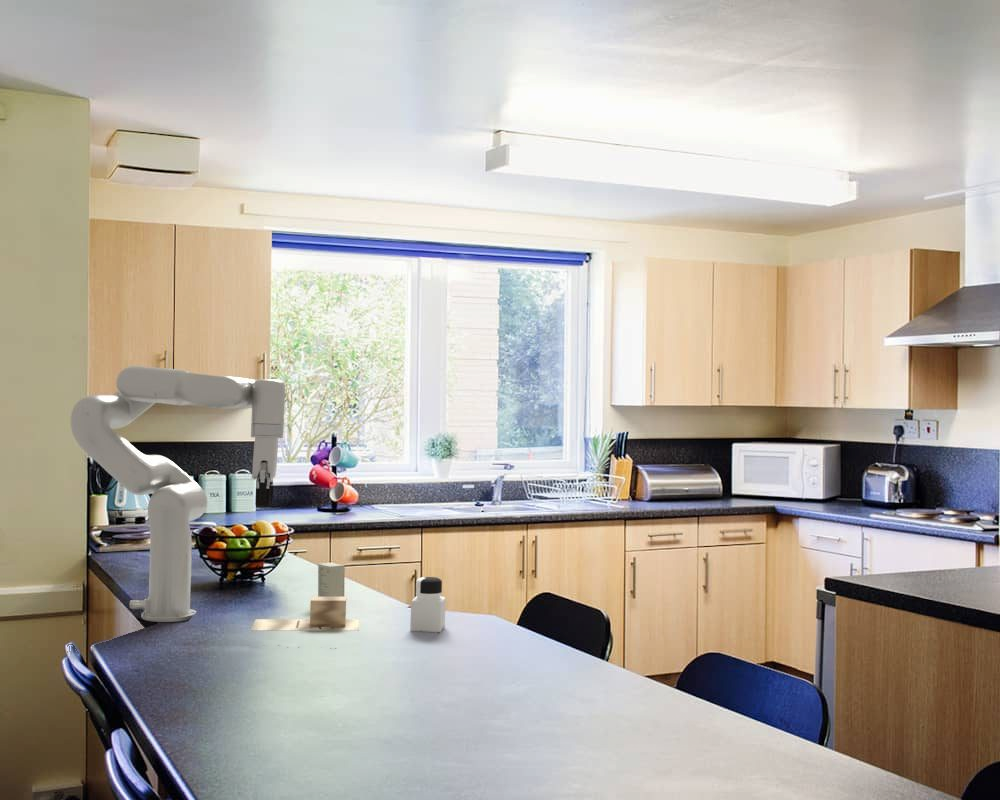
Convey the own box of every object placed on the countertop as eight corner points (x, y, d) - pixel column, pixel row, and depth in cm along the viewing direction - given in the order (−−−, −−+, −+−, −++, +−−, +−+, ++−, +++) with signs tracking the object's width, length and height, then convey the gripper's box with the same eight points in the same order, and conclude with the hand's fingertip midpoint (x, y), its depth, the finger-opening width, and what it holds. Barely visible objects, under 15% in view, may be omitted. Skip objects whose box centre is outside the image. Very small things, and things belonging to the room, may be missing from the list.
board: (250, 635, 234) (250, 630, 234) (255, 624, 246) (255, 619, 246) (359, 635, 238) (359, 630, 238) (358, 624, 250) (359, 619, 250)
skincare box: (344, 614, 261) (346, 565, 262) (329, 615, 259) (330, 566, 259) (331, 609, 266) (333, 561, 266) (316, 611, 263) (317, 563, 264)
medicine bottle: (445, 626, 250) (446, 576, 250) (440, 632, 243) (441, 580, 243) (415, 625, 251) (416, 574, 251) (410, 631, 244) (411, 579, 244)
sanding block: (309, 626, 240) (310, 600, 240) (310, 622, 245) (311, 596, 245) (345, 626, 241) (346, 600, 241) (345, 622, 246) (346, 596, 246)
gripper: (254, 429, 257) (251, 500, 257) (247, 432, 240) (244, 507, 240) (285, 431, 258) (283, 500, 258) (280, 433, 241) (277, 507, 241)
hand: (264, 503), depth 249 cm, fingers open, 9 cm apart
